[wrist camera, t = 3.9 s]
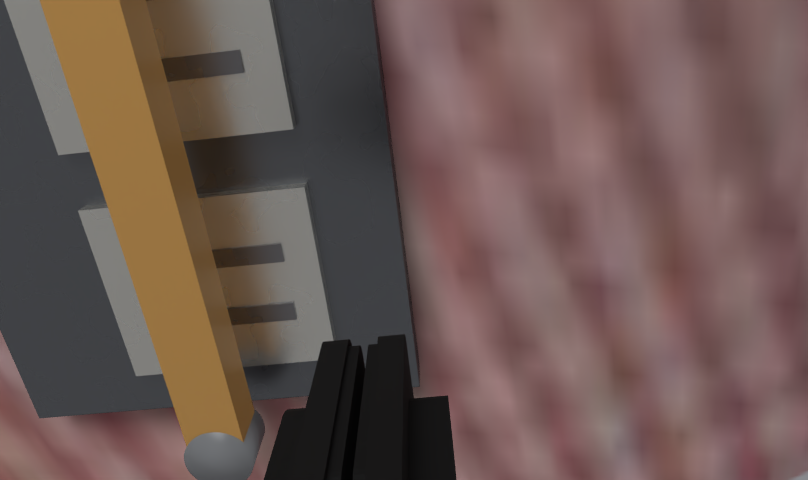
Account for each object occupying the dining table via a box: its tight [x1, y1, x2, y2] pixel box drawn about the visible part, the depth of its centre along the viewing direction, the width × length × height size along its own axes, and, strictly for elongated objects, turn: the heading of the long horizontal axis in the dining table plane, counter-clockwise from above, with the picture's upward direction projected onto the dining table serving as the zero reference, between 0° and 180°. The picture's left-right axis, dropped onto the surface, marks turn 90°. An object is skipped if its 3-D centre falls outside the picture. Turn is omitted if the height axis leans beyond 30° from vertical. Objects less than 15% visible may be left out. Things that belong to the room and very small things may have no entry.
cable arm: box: [40, 0, 265, 480], centre depth 18 cm, size 4×24×2 cm, turn 6°
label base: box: [0, 0, 420, 418], centre depth 20 cm, size 16×23×3 cm
